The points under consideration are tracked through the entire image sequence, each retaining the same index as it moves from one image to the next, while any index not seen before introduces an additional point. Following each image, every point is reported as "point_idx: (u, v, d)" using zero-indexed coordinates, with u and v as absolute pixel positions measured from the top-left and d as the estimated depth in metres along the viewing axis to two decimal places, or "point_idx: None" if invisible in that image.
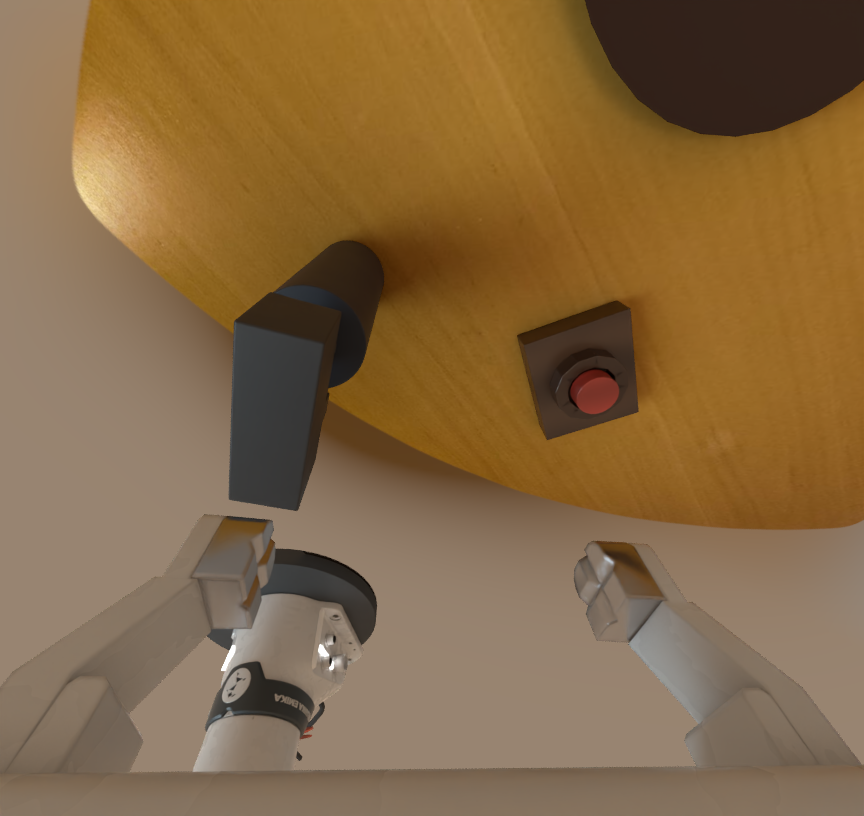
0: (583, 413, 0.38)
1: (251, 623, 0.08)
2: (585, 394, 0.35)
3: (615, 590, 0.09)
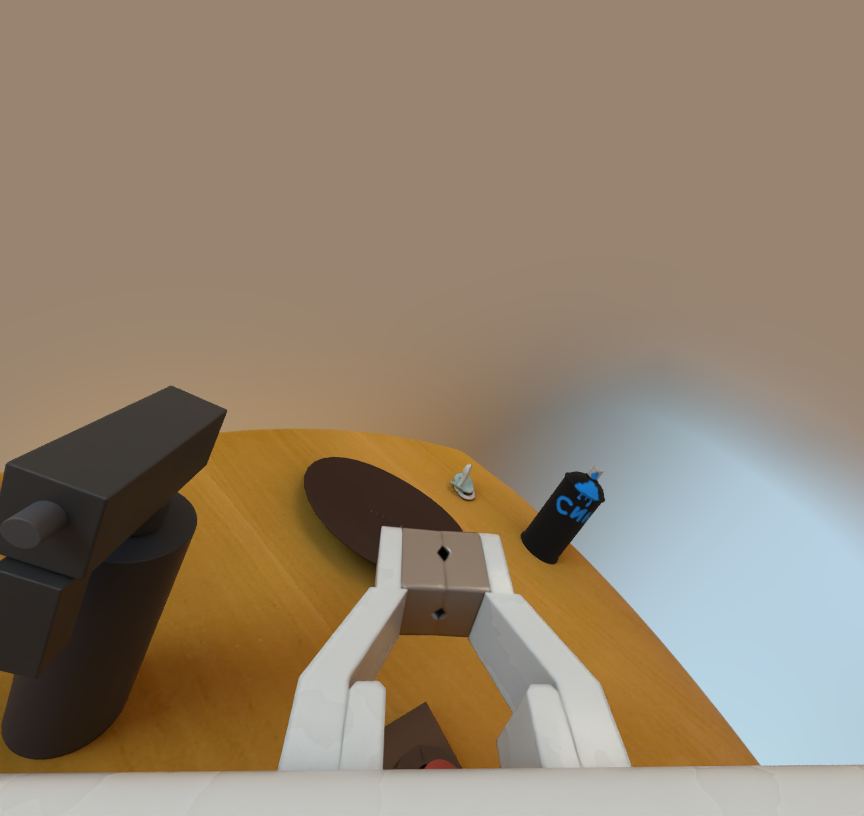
0: None
1: (434, 629, 0.09)
2: None
3: None
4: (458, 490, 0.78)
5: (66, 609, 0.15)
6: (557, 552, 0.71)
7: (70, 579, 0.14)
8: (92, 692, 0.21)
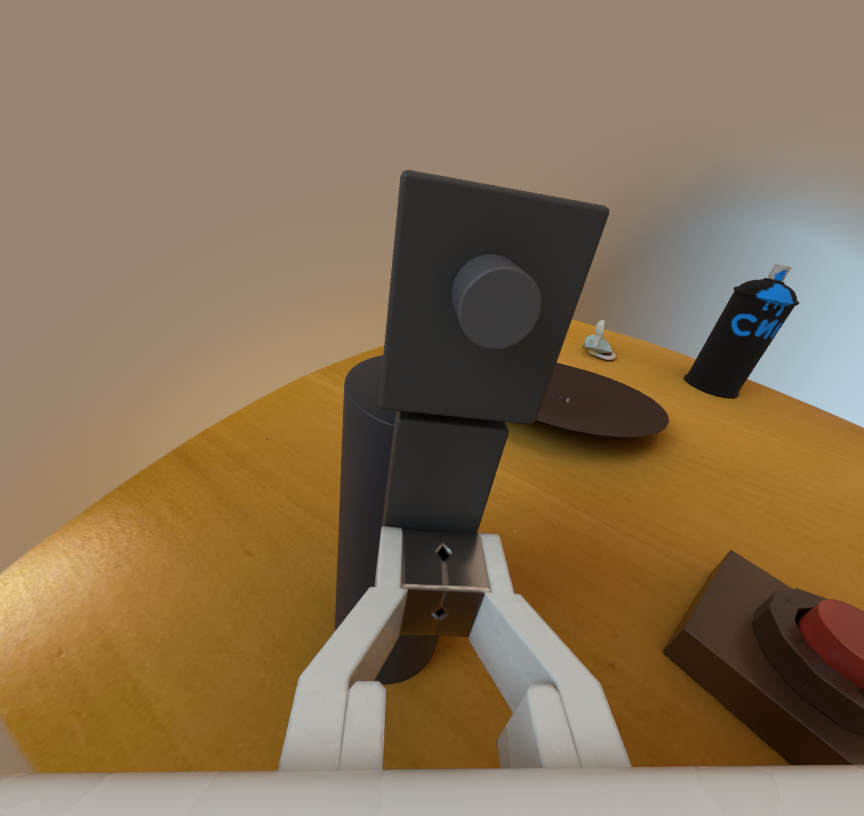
0: None
1: (434, 629, 0.09)
2: (848, 637, 0.19)
3: None
4: (596, 353, 0.68)
5: None
6: (741, 382, 0.60)
7: None
8: None
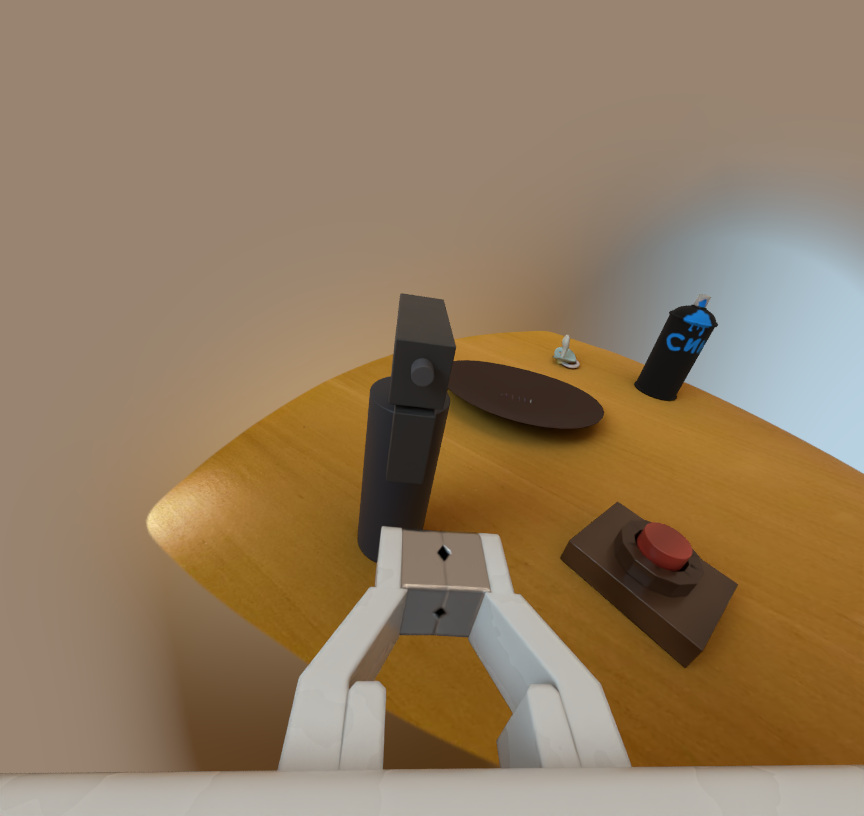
0: (684, 576, 0.32)
1: (434, 629, 0.09)
2: (656, 539, 0.33)
3: None
4: (562, 362, 0.82)
5: None
6: (676, 387, 0.74)
7: (434, 412, 0.22)
8: (417, 515, 0.31)
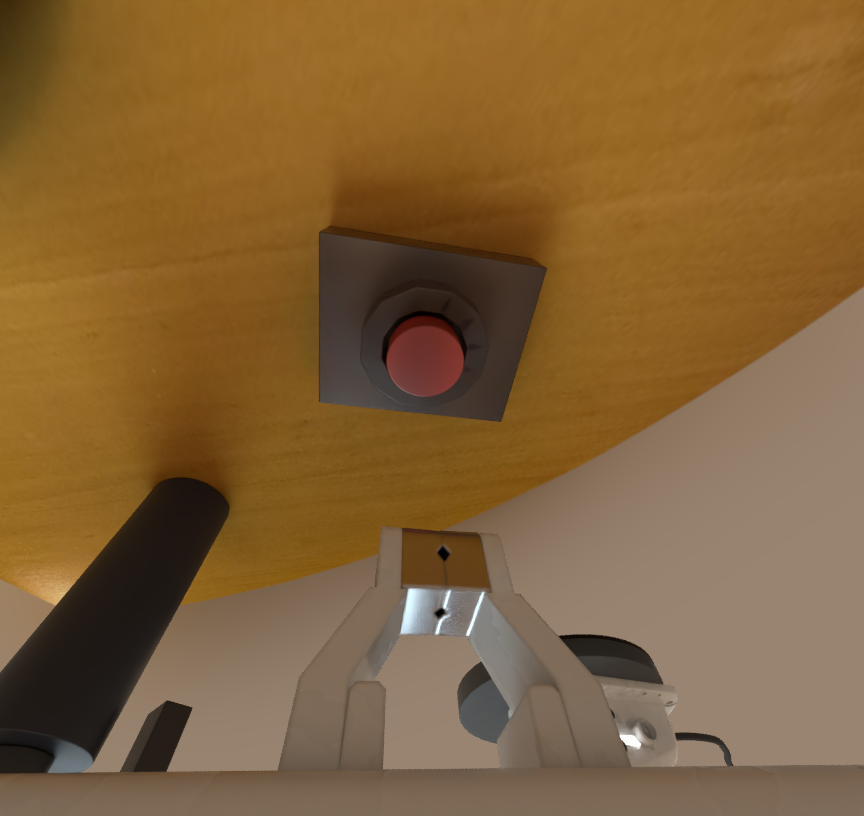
0: (465, 377, 0.21)
1: (434, 629, 0.09)
2: (410, 380, 0.20)
3: None
4: None
5: None
6: None
7: None
8: (194, 567, 0.27)
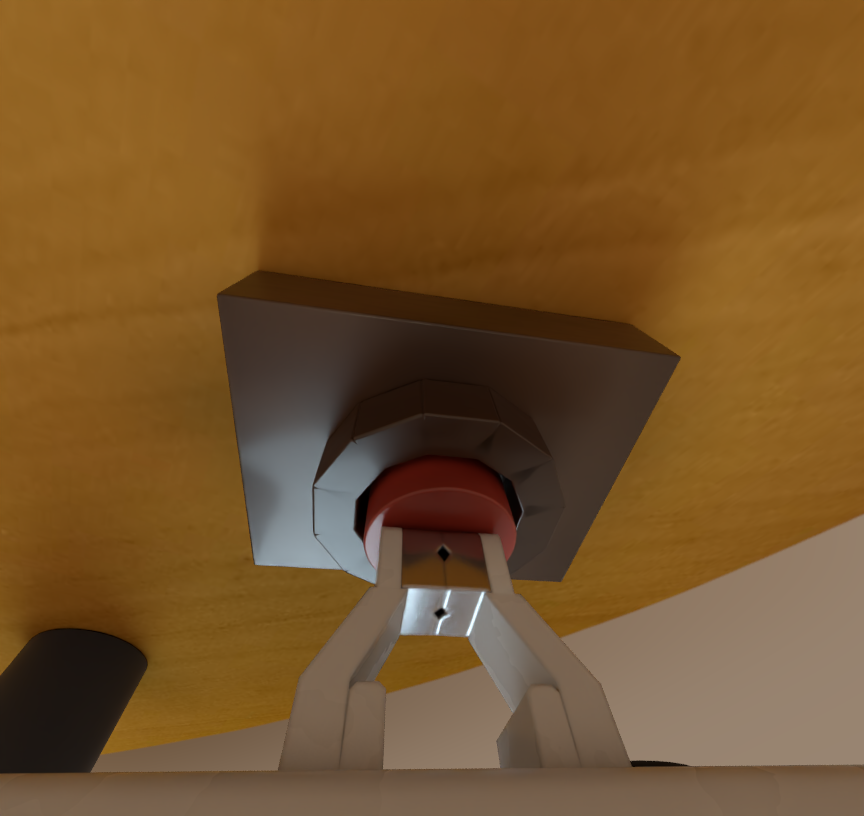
0: (513, 554, 0.11)
1: (434, 629, 0.09)
2: None
3: None
4: None
5: None
6: None
7: None
8: None
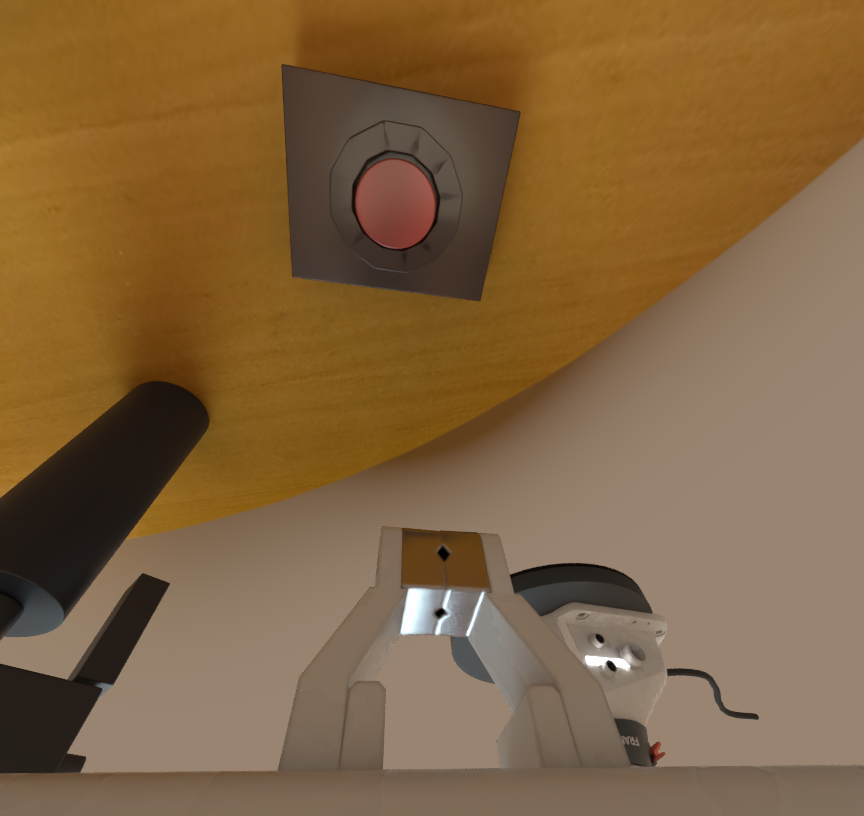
0: (439, 235, 0.21)
1: (434, 629, 0.09)
2: (381, 228, 0.19)
3: None
4: None
5: (123, 641, 0.19)
6: None
7: (101, 683, 0.17)
8: (171, 461, 0.26)
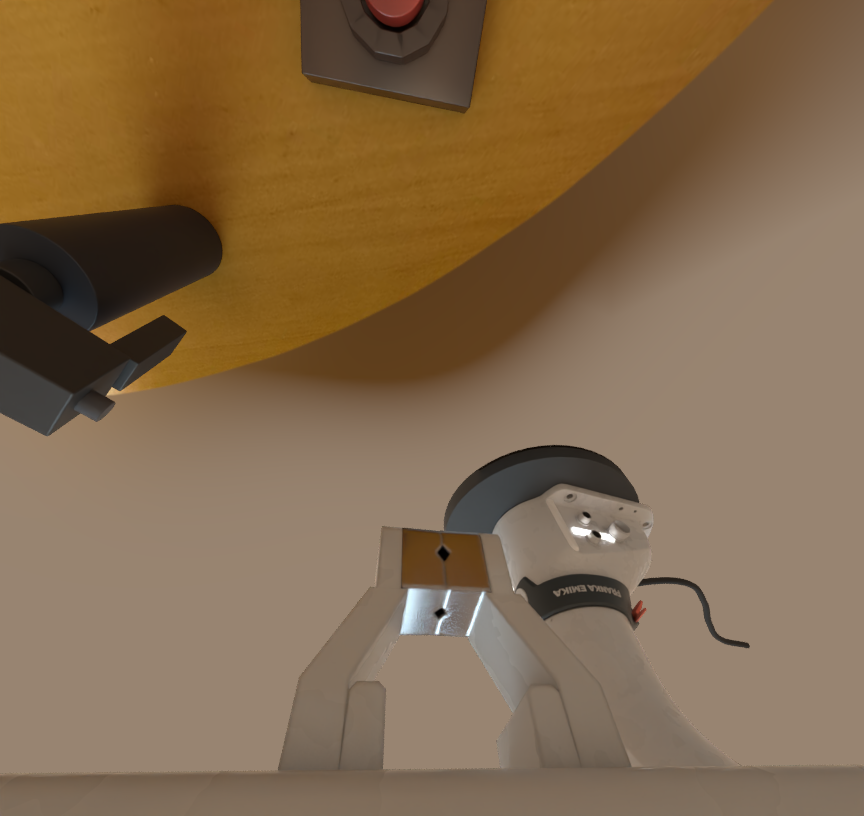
0: (431, 16, 0.24)
1: (434, 629, 0.09)
2: None
3: None
4: None
5: (146, 344, 0.22)
6: None
7: None
8: (189, 258, 0.29)
